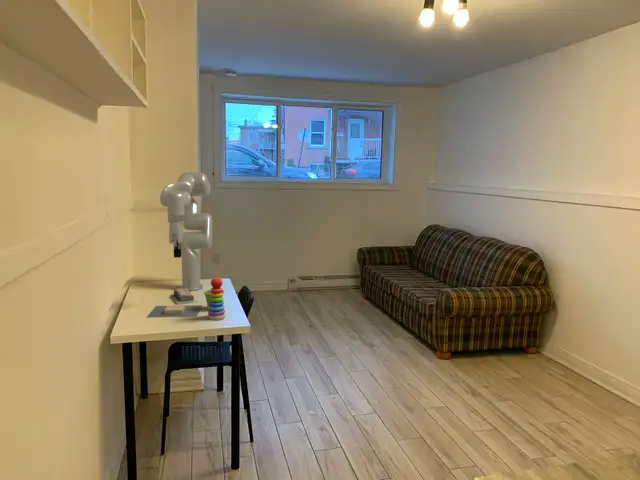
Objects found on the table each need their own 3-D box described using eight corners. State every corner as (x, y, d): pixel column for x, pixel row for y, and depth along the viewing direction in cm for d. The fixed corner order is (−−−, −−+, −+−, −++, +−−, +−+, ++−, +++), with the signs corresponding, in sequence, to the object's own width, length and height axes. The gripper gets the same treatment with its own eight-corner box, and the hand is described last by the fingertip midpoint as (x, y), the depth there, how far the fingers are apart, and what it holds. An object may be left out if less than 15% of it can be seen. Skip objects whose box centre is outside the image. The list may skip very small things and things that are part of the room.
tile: (167, 305, 226) (164, 310, 218) (185, 305, 226) (182, 309, 218) (168, 309, 226) (164, 314, 218) (185, 309, 227) (182, 314, 219)
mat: (155, 306, 231) (155, 306, 231) (202, 305, 233) (202, 305, 233) (146, 318, 214) (146, 317, 213) (196, 317, 216) (196, 316, 216)
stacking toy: (208, 321, 209) (207, 279, 207) (205, 316, 217) (204, 275, 214) (227, 319, 212) (226, 278, 210) (223, 314, 220) (222, 274, 217)
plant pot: (203, 307, 230) (202, 290, 229) (222, 305, 234) (222, 288, 232) (205, 313, 222) (205, 294, 220) (226, 311, 225) (225, 293, 224)
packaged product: (169, 288, 249) (189, 286, 254) (170, 297, 250) (189, 295, 254) (176, 296, 233) (197, 294, 238) (176, 306, 234) (197, 303, 238)
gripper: (171, 217, 233) (172, 254, 236) (164, 221, 218) (166, 260, 221) (187, 217, 234) (188, 254, 237) (181, 220, 219) (182, 260, 222)
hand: (177, 257), depth 229 cm, fingers closed
